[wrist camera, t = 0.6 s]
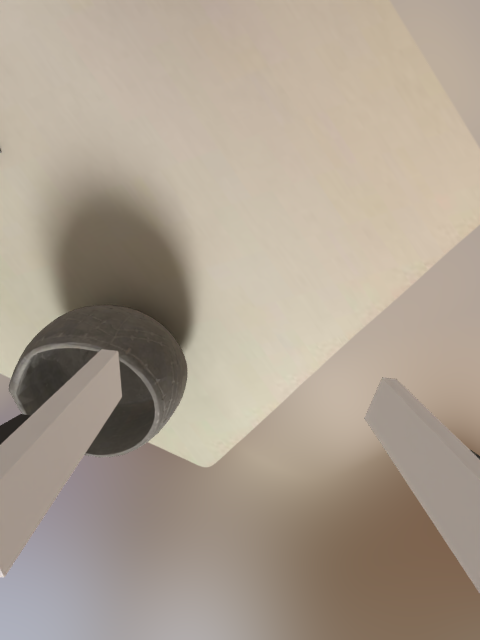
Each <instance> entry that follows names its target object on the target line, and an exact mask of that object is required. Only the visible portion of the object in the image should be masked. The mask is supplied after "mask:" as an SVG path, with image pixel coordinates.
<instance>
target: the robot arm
mask: <svg viewBox="0 0 480 640" xmlns="http://www.w3.org/2000/svg"><path fill="white" fill-rule="evenodd" d="M121 398H122V391H121V378H120V366H119V354H118V351H114V350H104V349H101V350H100V351H99V352H98V353H97V354H96V355H95V356H94V357H93V358H92V359H91V360H90V361H89V362H88V363H87V364H85V365H84V366H83V367H82V368H81V369H80V370H79V371H78V372H77V373H76V374H75V375H74V376H73V377H72V378H71V379H70V380H68V381H67V382H66V383H65V384H64V385H63V386H62V387H61V388H60V389H59V390H58V391H57V392H56V393H55V394H54V395H53V396H52V397H50V398H49V399H48V400H47V401H46V402H45V403H44V404H43V405H42V406H41V407H40V408H39V409H38V410H37V411H36V412H35V413H33V414H32V415H25V414H20V415H18V416H17V417H15V418H13V419H11V420H9V421H8V422H6V423H4V424H2V425H1V426H0V577H5V576H6V574H7V573H8V571H9V570H10V568H11V566H12V565H13V563H14V562H15V560H16V559H17V557H18V556H19V554H20V553H21V551H22V550H23V548H24V547H25V545H26V543H27V542H28V540H29V539H30V537H31V536H32V534H33V533H34V531H35V530H36V528H37V527H38V525H39V524H40V522H41V520H42V519H43V517H44V516H45V514H46V513H47V511H48V510H49V508H50V507H51V505H52V504H53V502H54V501H55V499H56V497H57V496H58V494H59V493H60V491H61V490H62V488H63V487H64V485H65V483H66V482H67V481H68V479H69V478H70V476H71V474H72V473H73V471H74V470H75V468H76V467H77V465H78V464H79V462H80V461H81V459H82V458H83V456H84V455H85V453H86V451H87V450H88V448H89V447H90V445H91V444H92V442H93V441H94V439H95V438H96V436H97V435H98V433H99V432H100V430H101V428H102V427H103V425H104V424H105V422H106V421H107V419H108V418H109V416H110V415H111V413H112V412H113V410H114V409H115V407H116V405H117V404H118V402H119V401H120V399H121ZM365 420H366V421H367V423H368V425H369V426H370V428H371V429H372V431H373V432H374V434H375V435H376V437H377V438H378V440H379V441H380V443H381V444H382V446H383V447H384V449H385V450H386V452H387V453H388V455H389V456H390V458H391V460H392V461H393V463H394V464H395V466H396V467H397V469H398V470H399V472H400V473H401V475H402V476H403V477H404V479H405V481H406V482H407V484H408V485H409V487H410V488H411V490H412V491H413V493H414V494H415V496H416V497H417V499H418V500H419V502H420V503H421V505H422V507H423V508H424V510H425V511H426V512H427V514H428V516H429V517H430V519H431V520H432V522H433V523H434V524H435V526H436V528H437V529H438V531H439V532H440V534H441V535H442V537H443V538H444V540H445V541H446V543H447V544H448V546H449V547H450V549H451V551H452V552H453V554H454V555H455V557H456V558H457V559H458V561H459V563H460V564H461V566H462V567H463V569H464V570H465V572H466V573H467V575H468V576H469V578H470V579H471V581H472V582H473V584H474V585H475V587H476V588H477V590H478V591H479V593H480V456H479V455H477V454H475V453H474V452H473V451H472V450H469V449H468V448H467V447H466V446H465V445H464V444H463V443H462V442H461V441H460V440H459V439H458V438H457V437H456V436H455V435H454V434H453V433H452V432H451V431H450V430H449V429H448V428H447V427H446V426H445V425H444V424H443V423H441V422H440V421H439V420H438V419H437V418H436V417H435V416H434V415H433V414H432V413H431V412H430V411H429V410H428V409H427V408H426V407H425V406H424V405H423V404H422V403H421V402H420V401H419V400H418V399H416V397H415V396H413V394H411V393H410V392H409V391H408V390H407V389H406V388H405V387H404V386H403V385H402V384H401V383H400V382H399V381H398V380H397V379H392V378H383V377H382V379H381V381H380V384H379V386H378V388H377V390H376V393H375V395H374V397H373V400H372V402H371V404H370V407H369V409H368V411H367V413H366V416H365Z"/></svg>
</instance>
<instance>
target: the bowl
mask: <svg viewBox="0 0 480 640" xmlns="http://www.w3.org/2000/svg"><path fill="white" fill-rule="evenodd" d="M101 349H104V350H114V351H118V354H119V366H120V378H121V391H122V398H121V399H120V401H119V402H118V404H117V405H116V407H115V409H114V410H113V412H112V413H111V415H110V416H109V418H108V419H107V421H106V422H105V424H104V425H103V427H102V428H101V430H100V432H99V433H98V435H97V436H96V438H95V439H94V441H93V442H92V444H91V445H90V447H89V448H88V450H87V451H86V453H85V455H88V456H95V457H113V456H119V455H123V454H126V453H128V452H131V451H133V450H135V449H137V448H139V447H140V446H142V445H144V444H145V443H147V442H148V441H149V440H150V439H152V438H153V437H154V436H155V435H156V434H158V433H159V431H160V430H161V429H162V428H163V426H164V425H165V424H166V423H167V421H168V420H169V419H170V417H171V416H172V414H173V413H174V411H175V410H176V408H177V406H178V405H179V403H180V401H181V399H182V396H183V393H184V390H185V386H186V381H187V364H186V360H185V356H184V354H183V352H182V350H181V348H180V346H179V344H178V343H177V341H176V340H175V338H174V337H173V336H172V335H171V333H170V332H169V331H168V330H167V329H166V328H165V327H164V326H163V325H162V324H160V323H159V322H158V321H156V320H155V319H153V318H152V317H150V316H148V315H146V314H144V313H142V312H140V311H137V310H134V309H131V308H126V307H122V306H114V305H97V306H89V307H83V308H79V309H76V310H73V311H70V312H68V313H66V314H64V315H62V316H60V317H58V318H57V319H55V320H54V321H53V322H51V323H50V324H49V325H47V326H46V327H45V328H44V329H43V330H41V331H40V332H39V333H38V334H37V335H36V336H35V337H34V338H33V340H32V341H31V342H30V343H29V344H28V346H27V347H26V348H25V350H24V352H23V354H22V355H21V357H20V359H19V361H18V363H17V365H16V367H15V370H14V372H13V375H12V378H11V381H10V384H9V392H10V393H11V395H12V397H13V399H14V400H15V402H16V404H17V406H18V408H19V410H20V411H21V413H22V414H25V415H32V414H33V413H35V412H36V411H37V410H38V409H39V408H40V407H41V406H42V405H43V404H44V403H45V402H46V401H47V400H48V399H49V398H50V397H52V396H53V395H54V394H55V393H56V392H57V391H58V390H59V389H60V388H61V387H62V386H63V385H64V384H65V383H66V382H67V381H68V380H70V379H71V378H72V377H73V376H74V375H75V374H76V373H77V372H78V371H79V370H80V369H81V368H82V367H83V366H84V365H85V364H87V363H88V362H89V361H90V360H91V359H92V358H93V357H94V356H95V355H96V354H97V353H98V352H99V351H100V350H101Z"/></svg>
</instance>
